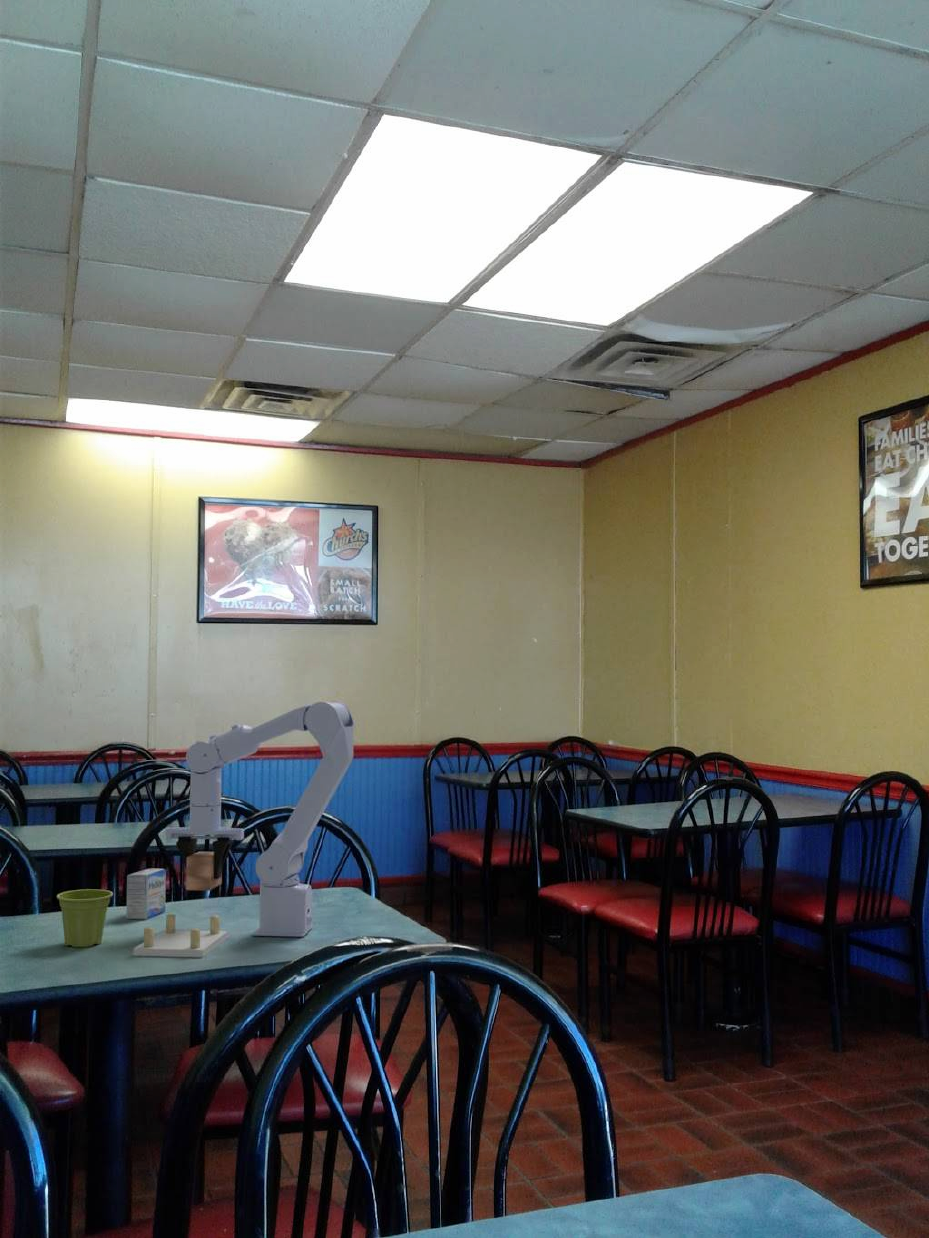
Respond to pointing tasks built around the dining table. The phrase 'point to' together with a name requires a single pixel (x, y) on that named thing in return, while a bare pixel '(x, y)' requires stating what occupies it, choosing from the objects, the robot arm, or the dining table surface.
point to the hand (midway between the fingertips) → (204, 877)
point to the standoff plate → (181, 940)
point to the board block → (201, 872)
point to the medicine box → (146, 893)
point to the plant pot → (84, 916)
